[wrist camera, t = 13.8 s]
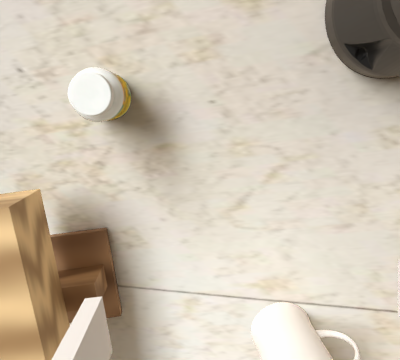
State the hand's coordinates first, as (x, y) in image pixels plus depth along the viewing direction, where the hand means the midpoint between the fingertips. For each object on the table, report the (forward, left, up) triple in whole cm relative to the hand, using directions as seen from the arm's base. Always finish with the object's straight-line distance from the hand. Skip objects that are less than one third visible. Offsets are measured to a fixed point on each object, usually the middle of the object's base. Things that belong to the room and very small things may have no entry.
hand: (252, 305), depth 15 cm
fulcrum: (+11, -20, -29) cm, 37 cm away
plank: (+11, -20, -23) cm, 32 cm away
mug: (+23, +10, -30) cm, 39 cm away
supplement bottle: (-11, -10, -30) cm, 33 cm away
